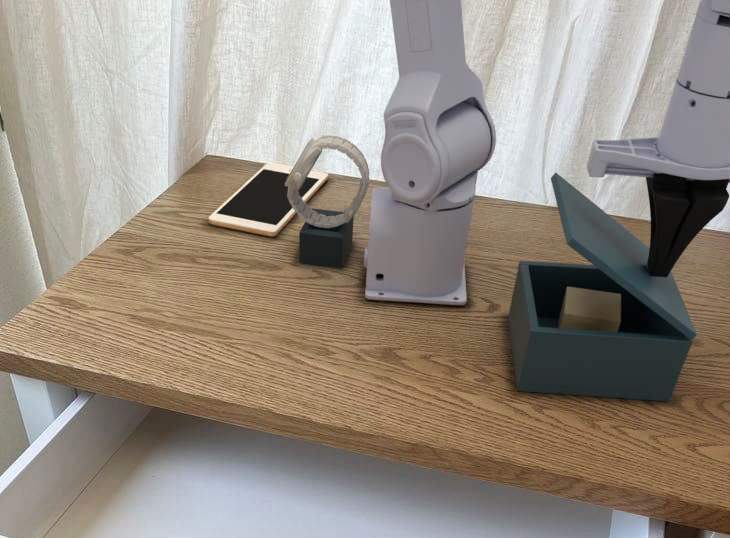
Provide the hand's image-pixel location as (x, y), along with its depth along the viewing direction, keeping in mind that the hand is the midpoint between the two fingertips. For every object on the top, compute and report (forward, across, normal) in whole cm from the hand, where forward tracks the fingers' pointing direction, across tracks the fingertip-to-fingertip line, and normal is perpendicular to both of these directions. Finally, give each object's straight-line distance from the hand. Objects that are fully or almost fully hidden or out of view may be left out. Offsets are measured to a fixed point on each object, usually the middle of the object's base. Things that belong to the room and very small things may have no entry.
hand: (657, 270), depth 66 cm
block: (+8, +4, 0) cm, 9 cm away
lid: (-1, +3, 0) cm, 3 cm away
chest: (+8, +4, 0) cm, 9 cm away
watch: (+9, +28, -15) cm, 33 cm away
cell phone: (+8, +36, -26) cm, 45 cm away
